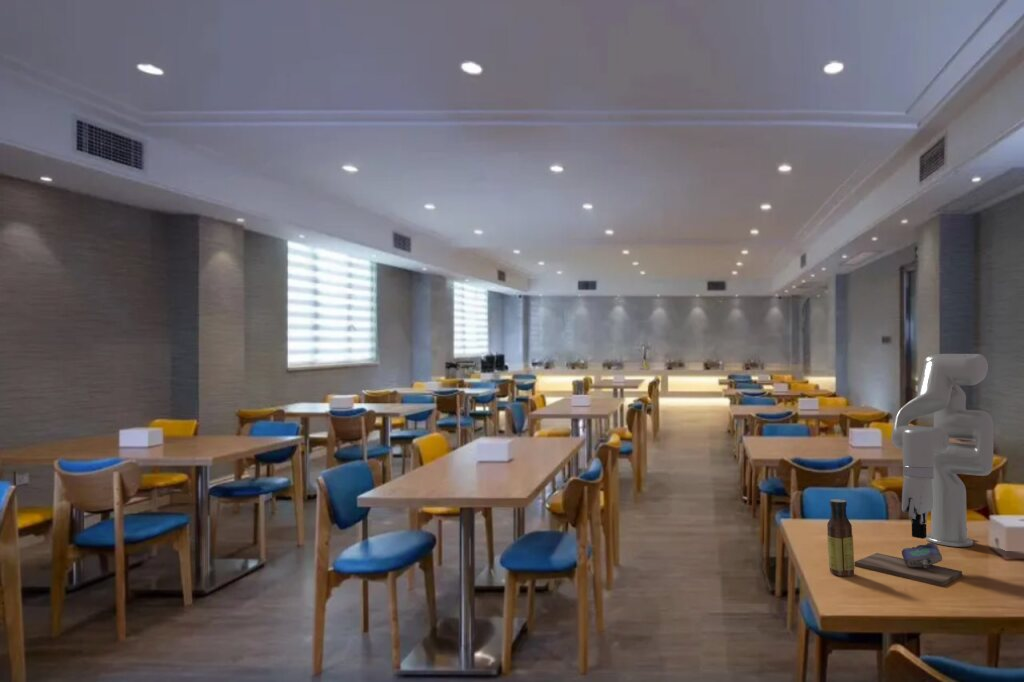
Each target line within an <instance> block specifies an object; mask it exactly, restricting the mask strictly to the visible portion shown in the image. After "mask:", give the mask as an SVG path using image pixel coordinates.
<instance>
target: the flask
mask: <svg viewBox="0 0 1024 682" xmlns="http://www.w3.org/2000/svg"><path fill="white" fill-rule="evenodd" d="M901 555H902V558H903V559H904V562H905V564H906V565H907V566H908V567H924V568H927V566H928V567H929V565H935V564H938V563H940V562H941V561H942V560H943V556H942V553H941V552H940V550H939V547H938V544H936V543H932V542H928V543H927V544H919V545H917V546H916V547H915V546H912V547H906V548H903V549H902V550H901ZM925 566H926V567H925Z"/></svg>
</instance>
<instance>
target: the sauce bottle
mask: <svg viewBox="0 0 1024 682" xmlns="http://www.w3.org/2000/svg"><path fill="white" fill-rule="evenodd" d="M829 505H830V516H831V517H830V519H829V520H828V522H827V549H828V550H827V551H828V552H827V553H828V565H829V572H830V573H831V574H833V575H835V576H838V577H843V578H844V577H846V578H847V577H853V576H854V575H855V567H856V566H855V551H854V549H855V548H854V537H853V536H854V535H853V528H852V527H853V526H852V524H851V521H850V520H849V518H848V515H847V506H848V503H847V500H845V499H838V498H837V499H834V498H833V499H830V500H829Z"/></svg>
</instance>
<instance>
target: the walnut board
mask: <svg viewBox="0 0 1024 682" xmlns="http://www.w3.org/2000/svg"><path fill="white" fill-rule="evenodd" d="M854 567H858V568H861V569H864V570H865V569H866V570H871V571H874V572H879V573H883V574H886V575H887V574H888V575H892V576H896V577H899V578H904V579H908V580H912V581H913V580H914V581H917V582H921V583H925V584H929V585H934V586H938V587H944V586H946V585H948V584H949V583H951V582H953V581H955V580H957V579H959V578H961V577H962V576H963V571H962V570H959V569H958V570H957V569H954V568H949V567H944V566H939V565H935V564H932V565H929V567H928V566H927V568H924V567H908V566H907V565H906V564H905V562H904V558H903V557H899V556H898V557H897V556H893V555H889V554H883V553H879V552H876V553H873V554H870V555H868V556H866V557H863V558H861V559H858V560H854ZM925 567H926V566H925Z"/></svg>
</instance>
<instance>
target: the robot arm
mask: <svg viewBox="0 0 1024 682" xmlns="http://www.w3.org/2000/svg"><path fill="white" fill-rule="evenodd" d="M988 370H989V364H988V360H987V359H986V357H985V355H983V354H980V353H938V354H937V353H935V354H931V355H927V357H925V358H924V360H923V368H922V373H921V377H920V382H919V386H918V391H917V396H915V397H914V398H912V399H911V400H909V401H907V403H905V404H904V405H903V406H902V407H901V408H900V409H899V410H898V412H897V413H896V415H895V418H894V421H893V426H892V429H891V431H892V432H891V442H892V445H893V446H894V448H896V449H898V450H900V451H902V477H903V482H902V490H901V491H902V492H901V493H902V494H901V496H902V497H901V511H902V512H903V513H908V519H910V522H911V523H910V524H911V537H912V538H916V539H922V540H924V539H925V540H927V541H928V542H929V543H934V544H936V545H942V546H948V547H954V548H955V547H957V548H966V547H967V548H968V547H972V546H973V545H974V541H973V540H972V539H970V538H969V537H968V527H967V521H968V520H967V489H966V485H965V483H964V482H963V481H962V479H961V478H960V477H959V475H971V476H978V477H979V476H982V477H984V476H988V475H990V474H991V473H992V470H993V467H994V443H995V442H994V441H995V440H994V437H995V433H994V432H995V429H994V428H995V427H994V425H995V424H994V420H993V417H992V415H991V414H990V413H989V412H987V411H984V410H979V409H977V410H975V409H967V408H966V407H967V406H966V404H967V395H966V393H965V391H964V390H963V389H962V388H961V386H975V385H978V384H979V383H981V382H982V381H983V380H984V379H985V378H986V377H987V376H988V375H987V374H988ZM930 414H933V426H924V425H923V426H922V425H913V424H912V425H911V424H910V423H912V422H913V421H915V420H916V419H919V418H921V417H923V416H927V415H930ZM909 424H910V425H909ZM950 439H951V440H952V439H953V440H962V441H963V440H964V441H973V442H974V443H975V444H973V443H960V442H959V443H958V442H950ZM929 513H931V514H930V519H931V520H930V521H931V523H930V524H931V526H930V527H931V530H930V531H931V533H927V521H928V515H929Z"/></svg>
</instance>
